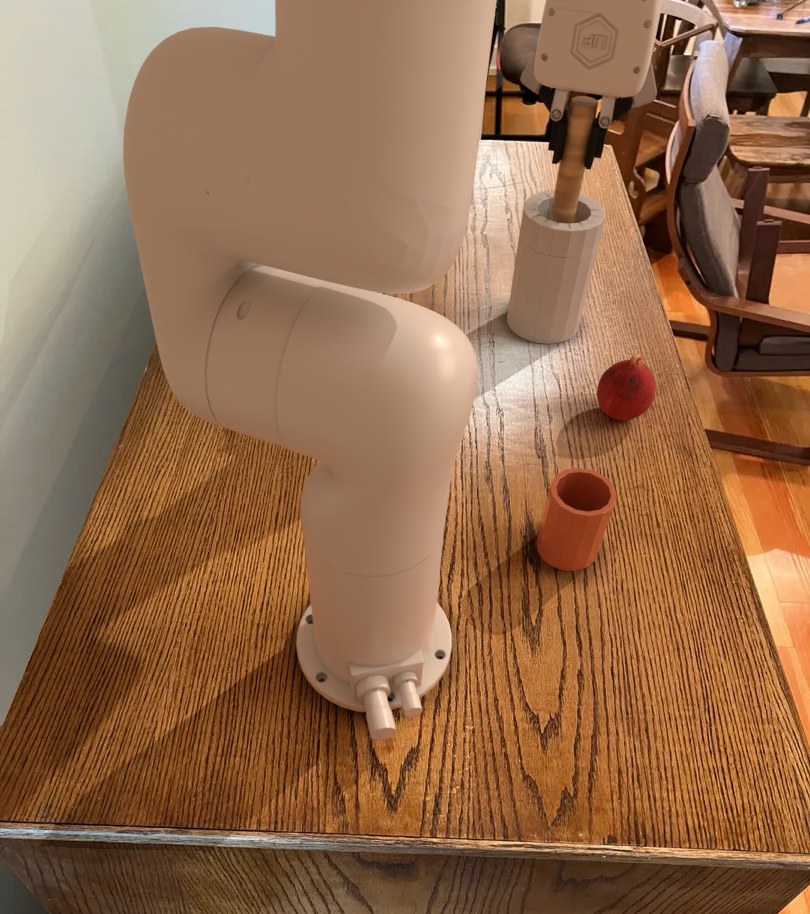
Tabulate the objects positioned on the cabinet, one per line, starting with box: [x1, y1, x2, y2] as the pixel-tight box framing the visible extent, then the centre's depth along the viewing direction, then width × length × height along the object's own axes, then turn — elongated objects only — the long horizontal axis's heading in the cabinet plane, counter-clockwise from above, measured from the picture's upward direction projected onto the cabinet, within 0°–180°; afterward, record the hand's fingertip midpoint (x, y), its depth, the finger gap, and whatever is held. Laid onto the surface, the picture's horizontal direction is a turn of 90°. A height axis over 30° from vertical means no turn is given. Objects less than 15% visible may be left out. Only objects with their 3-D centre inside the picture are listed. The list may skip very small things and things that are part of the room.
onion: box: [596, 353, 657, 422], centre depth 79 cm, size 6×6×8 cm
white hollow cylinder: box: [506, 189, 606, 345], centre depth 87 cm, size 9×9×14 cm
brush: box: [550, 95, 599, 224], centre depth 80 cm, size 4×4×18 cm
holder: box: [535, 467, 618, 572], centre depth 67 cm, size 5×6×8 cm
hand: (573, 159), depth 77 cm, fingers closed on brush, 2 cm apart
